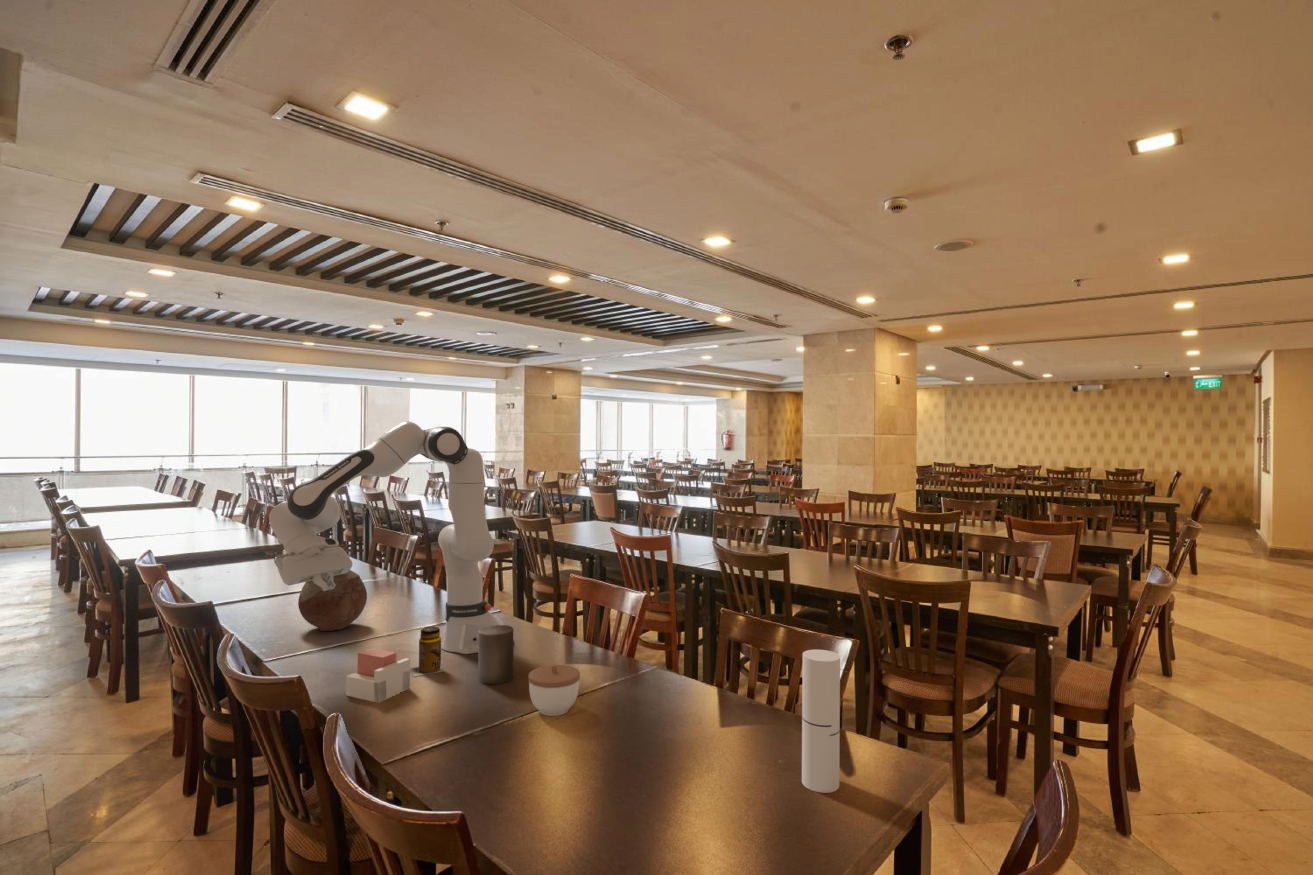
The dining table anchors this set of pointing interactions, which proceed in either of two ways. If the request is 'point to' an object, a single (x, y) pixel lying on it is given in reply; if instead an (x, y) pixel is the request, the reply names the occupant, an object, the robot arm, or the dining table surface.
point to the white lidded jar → (554, 688)
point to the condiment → (429, 652)
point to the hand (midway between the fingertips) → (330, 588)
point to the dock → (380, 682)
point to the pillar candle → (495, 654)
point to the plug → (374, 660)
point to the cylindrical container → (820, 720)
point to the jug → (333, 601)
